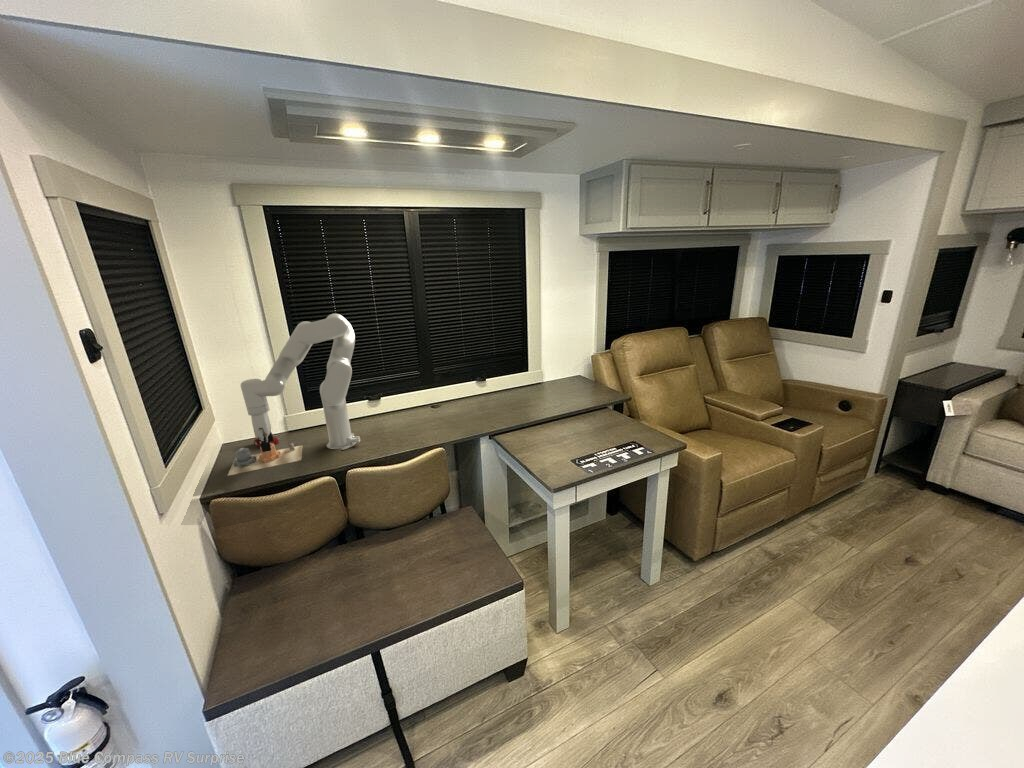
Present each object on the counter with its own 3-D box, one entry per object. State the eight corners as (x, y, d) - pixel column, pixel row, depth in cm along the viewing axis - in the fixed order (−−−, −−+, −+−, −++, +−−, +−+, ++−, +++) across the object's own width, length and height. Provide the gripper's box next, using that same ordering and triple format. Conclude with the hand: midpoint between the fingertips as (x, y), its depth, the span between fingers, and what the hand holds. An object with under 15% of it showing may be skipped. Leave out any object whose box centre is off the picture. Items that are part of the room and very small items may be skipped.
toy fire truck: (266, 452, 172) (261, 431, 169) (253, 446, 179) (247, 425, 176) (282, 446, 178) (277, 425, 175) (268, 440, 184) (264, 420, 181)
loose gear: (260, 456, 166) (257, 444, 165) (281, 452, 169) (278, 440, 168) (258, 463, 160) (255, 451, 158) (279, 459, 163) (276, 447, 161)
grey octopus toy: (257, 456, 166) (253, 442, 164) (254, 464, 159) (251, 450, 157) (236, 461, 163) (232, 447, 161) (232, 469, 156) (228, 454, 154)
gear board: (303, 447, 176) (299, 431, 173) (301, 462, 162) (298, 445, 160) (235, 461, 165) (230, 443, 163) (228, 478, 151) (222, 459, 149)
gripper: (250, 404, 164) (260, 440, 169) (243, 417, 149) (255, 457, 154) (271, 400, 167) (280, 436, 172) (266, 413, 152) (276, 452, 157)
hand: (268, 446), depth 163 cm, fingers open, 9 cm apart
